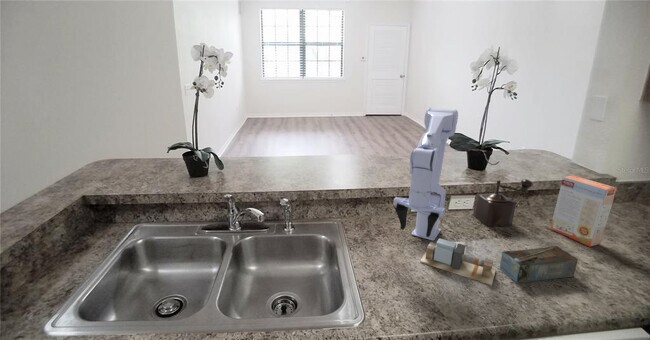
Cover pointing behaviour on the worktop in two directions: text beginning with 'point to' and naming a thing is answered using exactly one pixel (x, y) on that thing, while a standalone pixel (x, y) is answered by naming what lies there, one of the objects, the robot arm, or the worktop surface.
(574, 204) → the cracker box
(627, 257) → the worktop surface
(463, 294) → the worktop surface
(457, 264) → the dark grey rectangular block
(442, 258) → the sleeve
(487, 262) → the pipe stand
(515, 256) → the beverage carton
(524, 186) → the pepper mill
